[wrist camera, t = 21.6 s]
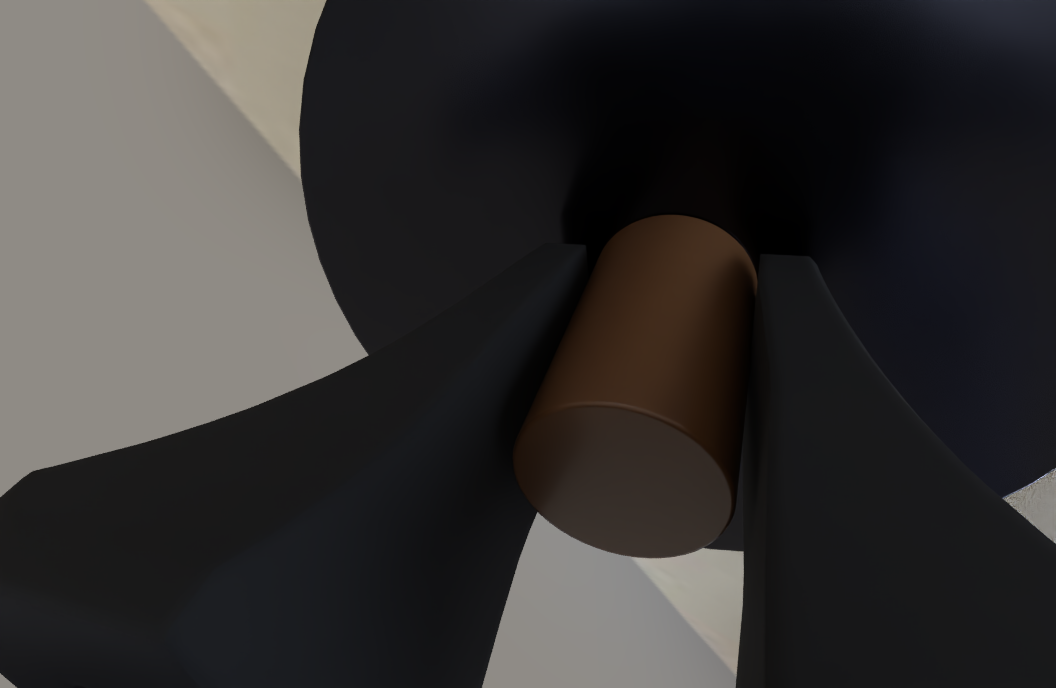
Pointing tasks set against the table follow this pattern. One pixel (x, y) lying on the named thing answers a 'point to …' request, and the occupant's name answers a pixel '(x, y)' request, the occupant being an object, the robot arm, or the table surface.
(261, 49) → the table surface
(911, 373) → the lid
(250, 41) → the table surface
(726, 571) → the table surface
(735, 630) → the table surface
